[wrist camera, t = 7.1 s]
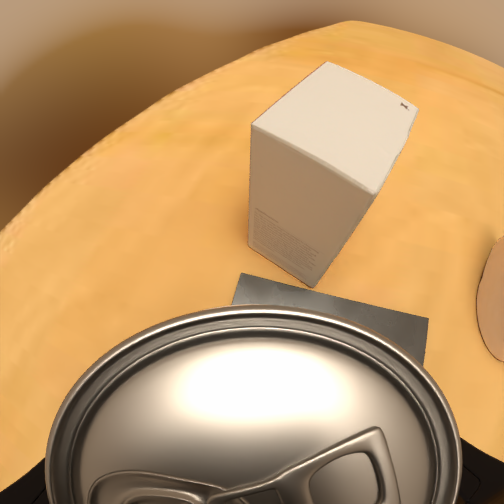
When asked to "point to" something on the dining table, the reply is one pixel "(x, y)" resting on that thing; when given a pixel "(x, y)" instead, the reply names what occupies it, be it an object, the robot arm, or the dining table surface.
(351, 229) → the small box
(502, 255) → the toilet tissue
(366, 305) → the ring seat
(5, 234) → the dining table surface
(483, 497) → the robot arm
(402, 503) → the can
